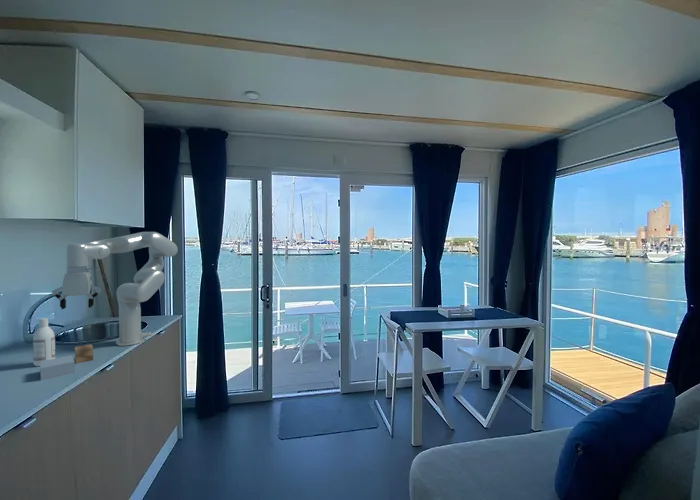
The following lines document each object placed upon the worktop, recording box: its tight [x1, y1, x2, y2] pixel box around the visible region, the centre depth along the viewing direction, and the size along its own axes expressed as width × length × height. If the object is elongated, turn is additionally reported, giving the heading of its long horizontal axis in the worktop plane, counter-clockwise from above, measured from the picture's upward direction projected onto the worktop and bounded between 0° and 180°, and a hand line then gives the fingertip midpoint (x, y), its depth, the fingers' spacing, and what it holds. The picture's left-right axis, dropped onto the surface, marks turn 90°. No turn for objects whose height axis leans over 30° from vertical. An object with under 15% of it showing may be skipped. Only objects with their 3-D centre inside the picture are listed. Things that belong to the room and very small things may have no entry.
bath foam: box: [32, 317, 56, 367], centre depth 141 cm, size 7×7×20 cm
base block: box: [39, 355, 76, 381], centre depth 131 cm, size 10×10×5 cm
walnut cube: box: [74, 344, 94, 364], centre depth 145 cm, size 6×6×6 cm
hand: (77, 307), depth 146 cm, fingers open, 9 cm apart
